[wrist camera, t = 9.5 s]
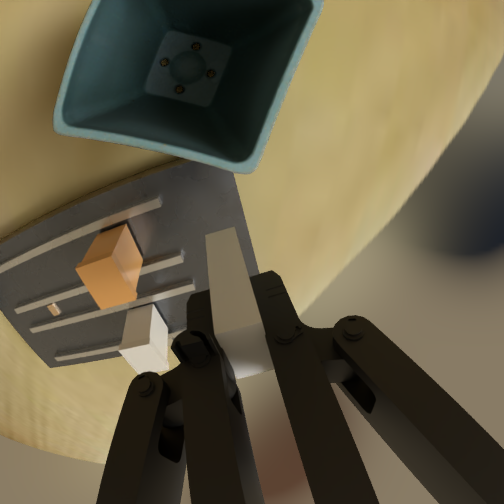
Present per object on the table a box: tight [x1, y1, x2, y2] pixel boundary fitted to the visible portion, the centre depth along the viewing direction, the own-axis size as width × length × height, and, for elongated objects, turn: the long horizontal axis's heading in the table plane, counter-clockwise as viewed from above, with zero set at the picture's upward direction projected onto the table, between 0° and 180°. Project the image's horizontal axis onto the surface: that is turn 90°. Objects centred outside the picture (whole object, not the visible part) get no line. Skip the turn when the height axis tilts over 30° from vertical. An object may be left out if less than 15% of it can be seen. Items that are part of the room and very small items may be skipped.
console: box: [0, 158, 259, 368], centre depth 21 cm, size 26×15×3 cm, turn 103°
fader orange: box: [75, 224, 143, 310], centre depth 16 cm, size 3×3×4 cm
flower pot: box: [53, 0, 324, 174], centre depth 11 cm, size 9×9×9 cm
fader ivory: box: [118, 304, 169, 374], centre depth 20 cm, size 3×3×4 cm
